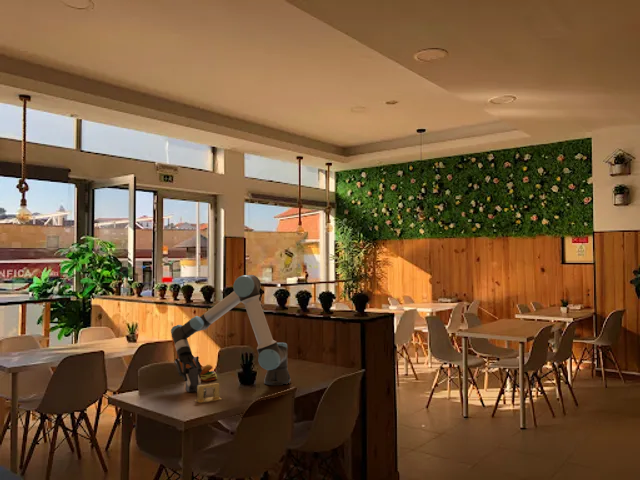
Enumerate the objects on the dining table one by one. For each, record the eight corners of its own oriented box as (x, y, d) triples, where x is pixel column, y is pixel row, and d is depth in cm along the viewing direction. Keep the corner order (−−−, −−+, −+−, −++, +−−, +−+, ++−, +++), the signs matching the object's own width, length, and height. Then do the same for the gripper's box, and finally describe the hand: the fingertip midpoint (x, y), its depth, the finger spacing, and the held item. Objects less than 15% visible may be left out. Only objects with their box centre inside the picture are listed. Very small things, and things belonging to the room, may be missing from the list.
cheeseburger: (218, 381, 316) (213, 364, 316) (200, 386, 314) (195, 369, 314) (217, 377, 326) (213, 361, 326) (200, 382, 324) (196, 366, 324)
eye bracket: (216, 397, 279) (216, 382, 279) (221, 399, 274) (221, 384, 274) (194, 400, 272) (194, 385, 272) (199, 403, 267) (199, 387, 267)
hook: (194, 389, 294) (194, 366, 295) (209, 396, 277) (209, 373, 278) (185, 390, 291) (185, 368, 292) (200, 398, 274) (200, 374, 275)
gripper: (196, 352, 309) (208, 386, 295) (165, 355, 299) (176, 391, 285) (200, 344, 305) (212, 378, 291) (169, 347, 295) (180, 382, 281)
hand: (194, 384), depth 288 cm, fingers closed on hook, 5 cm apart
